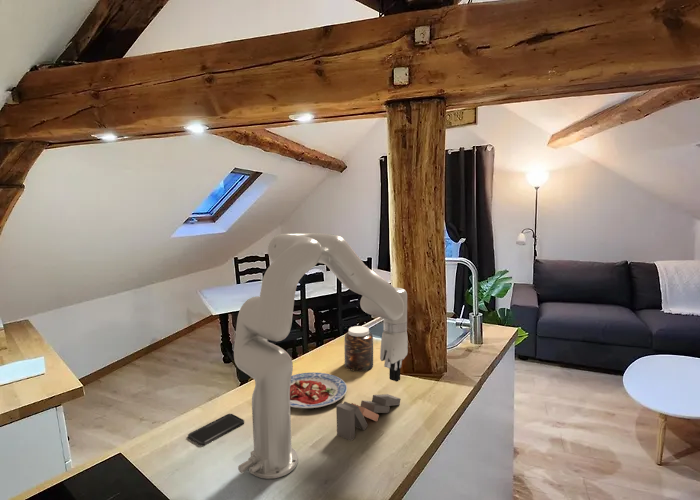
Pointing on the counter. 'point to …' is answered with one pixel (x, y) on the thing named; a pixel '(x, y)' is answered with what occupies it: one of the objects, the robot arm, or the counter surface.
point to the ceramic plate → (315, 390)
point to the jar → (358, 349)
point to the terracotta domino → (368, 413)
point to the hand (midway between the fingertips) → (394, 379)
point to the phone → (215, 429)
